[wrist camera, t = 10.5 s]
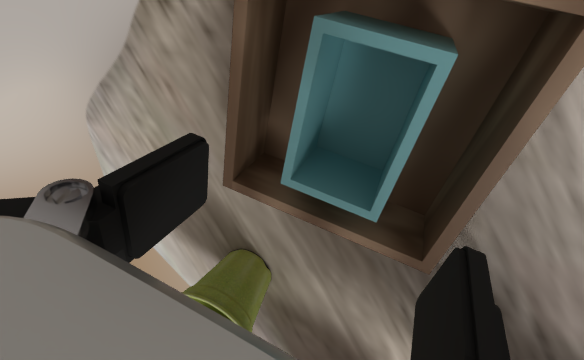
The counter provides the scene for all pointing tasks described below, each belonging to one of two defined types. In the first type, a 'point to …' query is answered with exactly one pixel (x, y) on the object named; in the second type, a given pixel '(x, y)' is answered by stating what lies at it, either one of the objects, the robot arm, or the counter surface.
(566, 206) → the counter surface
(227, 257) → the plant pot
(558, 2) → the crate large
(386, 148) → the box
